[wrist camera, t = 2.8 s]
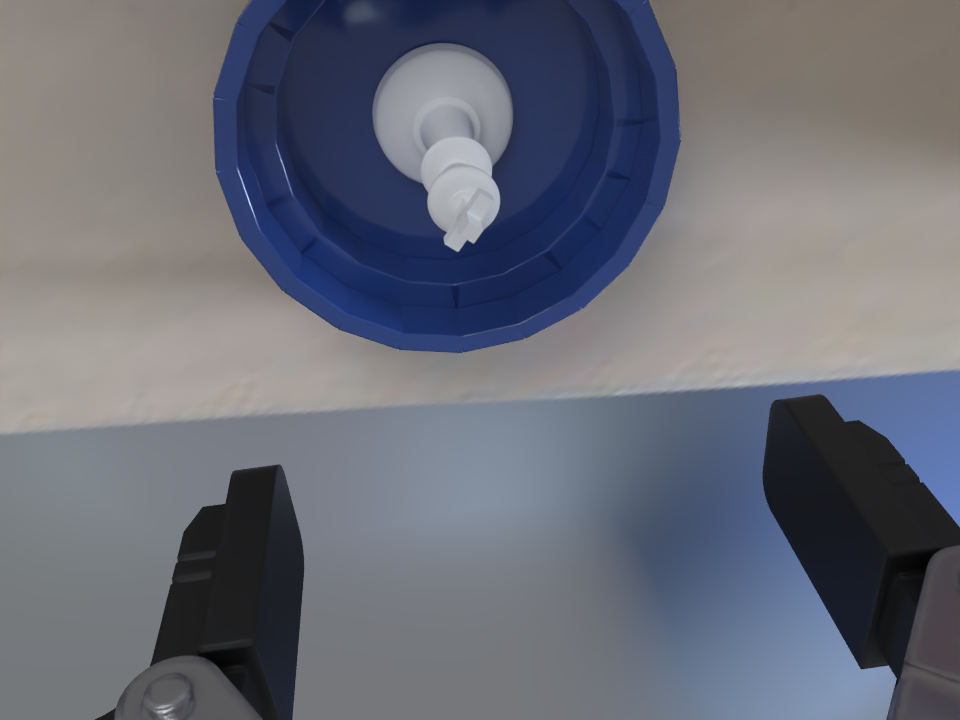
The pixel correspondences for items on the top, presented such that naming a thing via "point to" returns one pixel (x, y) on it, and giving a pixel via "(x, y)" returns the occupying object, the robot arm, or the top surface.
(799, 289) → the top surface
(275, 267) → the bowl
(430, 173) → the chess piece
